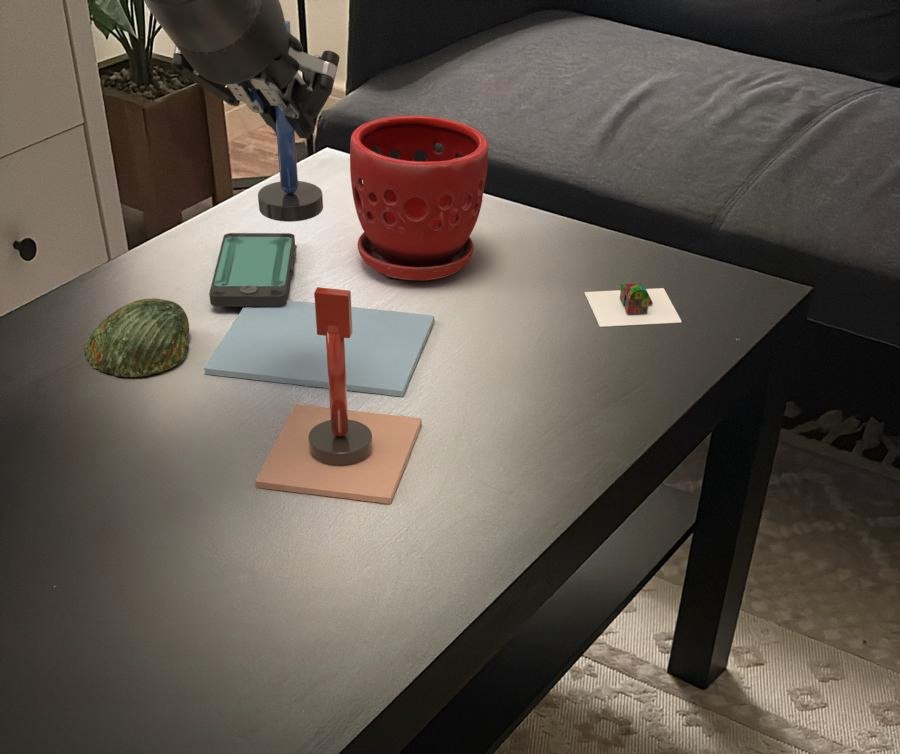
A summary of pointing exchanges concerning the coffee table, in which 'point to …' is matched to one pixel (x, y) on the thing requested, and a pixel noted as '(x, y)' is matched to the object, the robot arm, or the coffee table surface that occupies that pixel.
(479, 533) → the coffee table surface
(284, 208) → the blue rod on disc
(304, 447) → the orange mat
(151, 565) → the coffee table surface
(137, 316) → the seashell
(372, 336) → the blue mat
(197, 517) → the coffee table surface
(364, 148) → the flower pot
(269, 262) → the smartphone
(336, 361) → the red rod on disc
